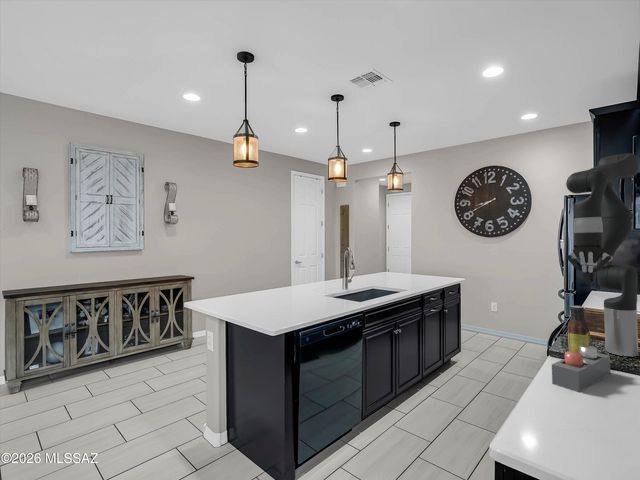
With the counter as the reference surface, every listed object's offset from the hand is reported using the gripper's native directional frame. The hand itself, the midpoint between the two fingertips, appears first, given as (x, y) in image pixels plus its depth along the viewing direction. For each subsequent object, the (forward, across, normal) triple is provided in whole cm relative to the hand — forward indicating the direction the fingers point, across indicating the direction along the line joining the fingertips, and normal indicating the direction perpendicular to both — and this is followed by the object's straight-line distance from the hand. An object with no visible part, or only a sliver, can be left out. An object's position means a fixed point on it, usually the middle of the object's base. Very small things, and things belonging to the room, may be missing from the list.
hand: (589, 283), depth 110 cm
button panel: (+29, 0, +8) cm, 31 cm away
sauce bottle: (+30, +6, -7) cm, 31 cm away
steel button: (+25, 0, +3) cm, 26 cm away
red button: (+25, 0, +13) cm, 29 cm away
